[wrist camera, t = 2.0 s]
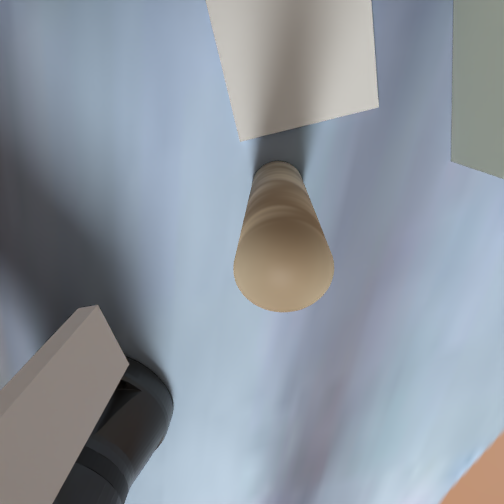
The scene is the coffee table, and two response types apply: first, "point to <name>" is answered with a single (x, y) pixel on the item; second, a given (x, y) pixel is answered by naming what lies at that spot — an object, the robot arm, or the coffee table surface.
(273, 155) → the coffee table surface
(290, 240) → the peg
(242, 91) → the coaster
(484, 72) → the socket block
